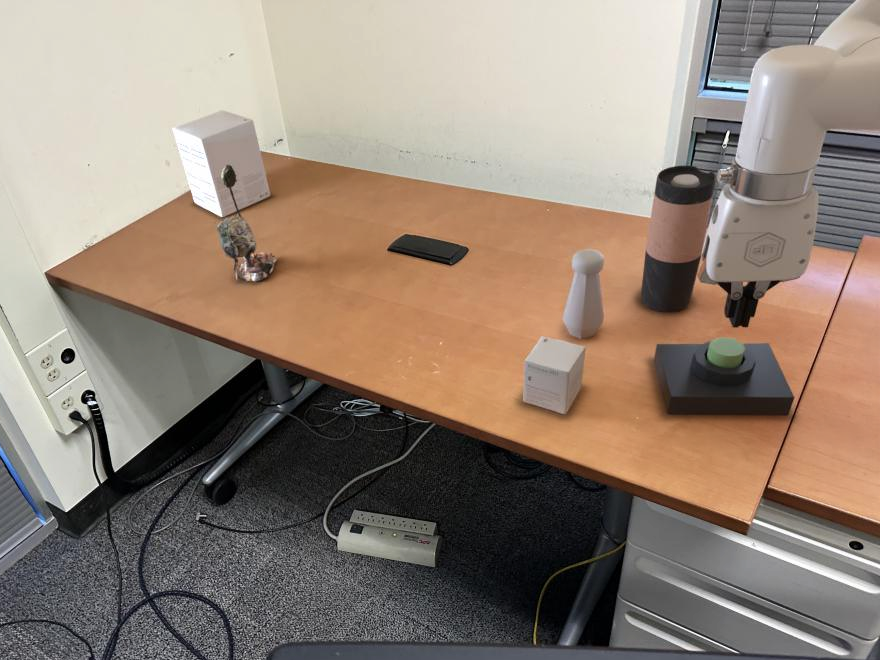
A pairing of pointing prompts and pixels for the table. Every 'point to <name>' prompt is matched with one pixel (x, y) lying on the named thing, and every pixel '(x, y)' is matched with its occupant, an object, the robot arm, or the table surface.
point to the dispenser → (721, 382)
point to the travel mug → (676, 237)
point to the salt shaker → (585, 295)
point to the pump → (725, 352)
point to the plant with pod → (242, 240)
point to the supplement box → (222, 161)
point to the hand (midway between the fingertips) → (737, 320)
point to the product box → (553, 374)
